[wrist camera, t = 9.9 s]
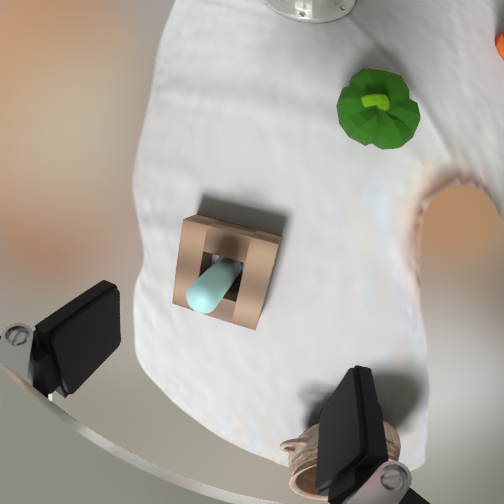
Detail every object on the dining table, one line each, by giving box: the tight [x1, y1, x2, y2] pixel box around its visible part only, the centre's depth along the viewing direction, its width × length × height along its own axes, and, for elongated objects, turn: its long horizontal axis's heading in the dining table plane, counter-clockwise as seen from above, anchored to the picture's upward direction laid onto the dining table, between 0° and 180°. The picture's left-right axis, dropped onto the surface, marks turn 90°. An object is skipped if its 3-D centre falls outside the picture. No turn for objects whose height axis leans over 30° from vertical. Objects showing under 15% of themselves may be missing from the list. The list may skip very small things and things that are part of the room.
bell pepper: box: [337, 69, 420, 149], centre depth 22 cm, size 8×8×10 cm
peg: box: [186, 256, 241, 314], centre depth 30 cm, size 3×3×10 cm
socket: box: [172, 214, 282, 330], centre depth 33 cm, size 11×11×4 cm
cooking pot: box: [280, 420, 401, 500], centre depth 34 cm, size 25×19×12 cm
